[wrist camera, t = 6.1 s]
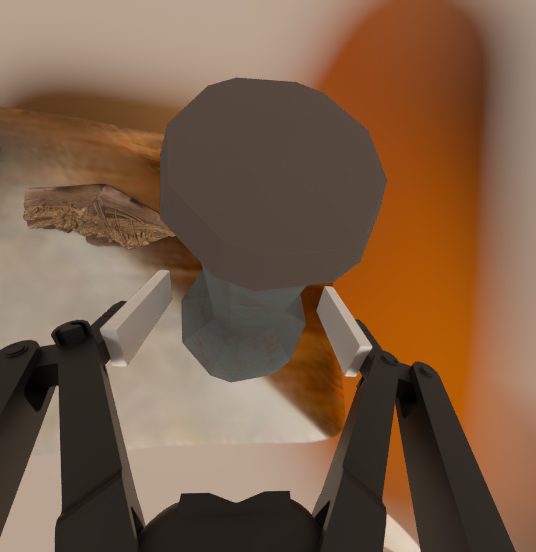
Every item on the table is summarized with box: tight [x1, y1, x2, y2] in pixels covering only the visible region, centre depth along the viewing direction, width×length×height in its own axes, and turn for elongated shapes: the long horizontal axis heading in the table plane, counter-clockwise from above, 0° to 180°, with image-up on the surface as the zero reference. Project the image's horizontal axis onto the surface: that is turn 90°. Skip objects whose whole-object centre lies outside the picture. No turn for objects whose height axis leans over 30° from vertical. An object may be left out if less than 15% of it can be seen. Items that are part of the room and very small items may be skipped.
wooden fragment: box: [23, 184, 176, 249], centre depth 32 cm, size 26×11×1 cm, turn 76°
